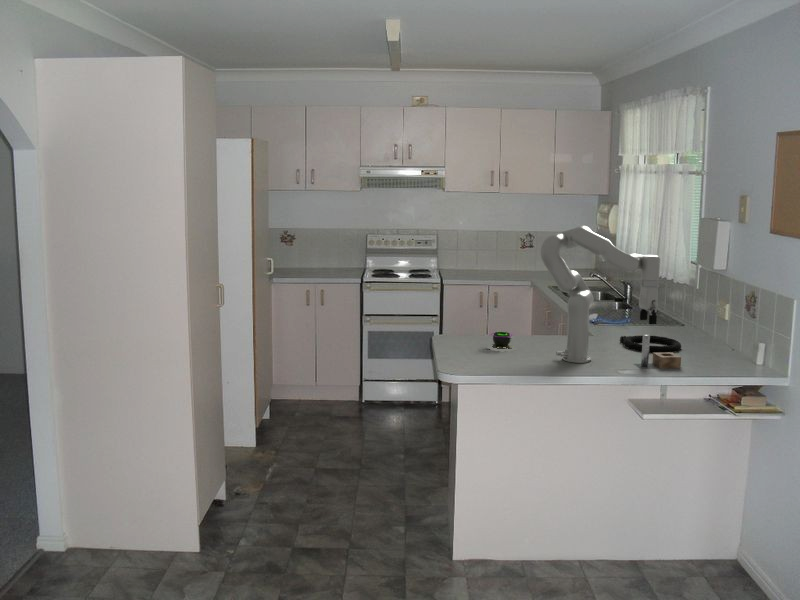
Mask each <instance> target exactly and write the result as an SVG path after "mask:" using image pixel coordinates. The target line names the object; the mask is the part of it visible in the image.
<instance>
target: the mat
mask: <svg viewBox="0 0 800 600" xmlns="http://www.w3.org/2000/svg"><path fill="white" fill-rule="evenodd" d="M633 365H634V366H635V367H637V368H639V369H640V370H649V369H650V370H651V369H653V370H654V369H656V370H658V369H662V370H663V369H664V370H665V369H667V368H659V367H657V366H656V365H654V364H652V363H648V367H642V366H641V363H633ZM680 369H683V367H682V366H681V368H680Z"/></svg>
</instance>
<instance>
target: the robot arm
mask: <svg viewBox="0 0 800 600" xmlns="http://www.w3.org/2000/svg"><path fill="white" fill-rule="evenodd" d="M575 247H576V248H577V247H579V248H581V249H583V250H585V251H587V252H589V253H591V254H593V255H595V256H597V257H599V258H600V259H601V260H603V261H605V262H607V263H608V264H609V265H611V266H613V267H615V268H617V269H620V270H622V271H624V272H626V273H630V274H631V273H636V272H637V271H641V272H640V289H639V299H638V307H639V311H640V312H639V320H640V321H648V325H657V318H658V317H657V315H658V311H659V294H658V293H659V292H658V291H659V290H658V288H660V287H659V286H660V285H659V284H660V265H661V257H660V256H659V255H656V254H639V253H630V254H629V253H627V252H625V251H623V250H621V249H620V248H618V247H616V245H614V244H613V243H612V241H611V240H610V239H608V238H605V237H604V236H602V235H600V234H598V233H596V232H594V231H592V229H591V228H590V227H588V226H586V225H579V226H577V227H574V228H571V229H568V230H564V231H560V232H557V233H553V234H550V235H549V236H547V237H546V238H545V239H544V240H543V242H542V243H541V247H540V258H541V260H542V263H543V264H544V266H545V268H546V269H547V271H548V273H549V275H550V276H551V278H552V279H553V280H554V283H555V284H556V286H557V288H558V289H559V290H560V291H561V292H563V293H567V294H568V296H569V298H568V299H567V331H566V332H567V333H566V334H567V335H566V337H567V338H566V348H564V350H563V351H555V354H556V356H557V357H559V356H560V357H562V359H563V361H565V362H568V363H575V364H576V363H578V364H584V363H585V364H586V363H589V362H591V361H592V358H591V357H590V356H589V355H588V354H589V353H588V351H589V335H590V334H589V332H590V308H591V307H592V306H593V304H594V301H595V299H594V295H593V293H592V291H591V290H590V288H589V286H588V285H587V283H586V281H585V280H584V279H583V276H581V274H580V273H579V272H578V271H577V270H574V269H570V268H569V266H568V265H567V263H566V261H565V260H564V258H563V257H562V256H561V252H562V251H566V250H569V249H572V248H575ZM648 311H649V312H648ZM648 313H649V314H648ZM648 315H649V316H648Z"/></svg>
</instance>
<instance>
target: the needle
mask: <svg viewBox="0 0 800 600" xmlns="http://www.w3.org/2000/svg"><path fill="white" fill-rule="evenodd" d="M642 335H643V341H642V342H641V345H642V351H641V361H640V362H641V363H640V364H641V366H642V367H648V364H649V358H650V357H649V355H650V353H649V346H650V343H651V342H650V336H651V335H650V334H642Z"/></svg>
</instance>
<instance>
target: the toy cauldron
mask: <svg viewBox="0 0 800 600" xmlns="http://www.w3.org/2000/svg"><path fill="white" fill-rule="evenodd" d="M502 327H503V326H502ZM502 327H500V329H505V327H503V328H502ZM496 329H497V331H496ZM493 330H494V332H493V333H489V334H490V336H492V341H493V343H492V344H491V345H493V346H492V347H493V348H497V347H499V348H497V349H507V348H508V349H512V347H511V346H512V345H510V344H511V343H510V342H511V340H512V339H513V338H512V337H514V334H513V333H511V332H508V331H506V330H505V331H501V330H500V331H499V327H497V328H494V329H493ZM495 331H496V332H495ZM503 347H506V348H503Z"/></svg>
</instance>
